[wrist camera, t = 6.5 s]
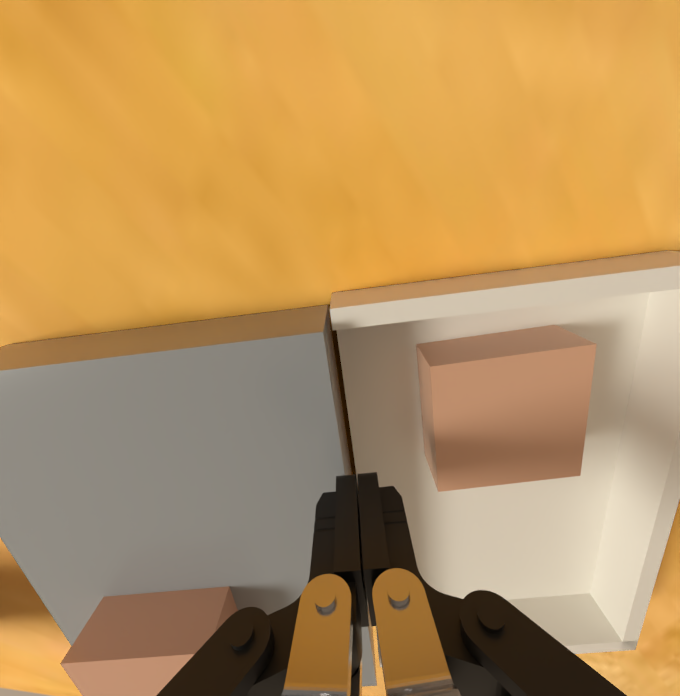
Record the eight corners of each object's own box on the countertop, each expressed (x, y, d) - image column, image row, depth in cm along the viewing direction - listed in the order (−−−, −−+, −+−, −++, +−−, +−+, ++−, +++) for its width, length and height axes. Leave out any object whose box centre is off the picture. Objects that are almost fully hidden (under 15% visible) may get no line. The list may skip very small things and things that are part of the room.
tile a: (596, 344, 12) (554, 324, 14) (430, 366, 12) (415, 344, 15) (580, 475, 14) (546, 439, 16) (438, 492, 14) (424, 454, 17)
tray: (332, 292, 14) (329, 308, 11) (666, 250, 14) (751, 256, 11) (375, 609, 22) (380, 667, 19) (595, 592, 21) (635, 650, 18)
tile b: (103, 596, 15) (60, 663, 13) (229, 586, 15) (208, 652, 13) (146, 672, 17) (115, 742, 15) (257, 665, 17) (243, 735, 15)
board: (8, 344, 15) (-102, 382, 11) (327, 304, 14) (322, 331, 11) (148, 622, 22) (109, 703, 18) (370, 604, 21) (376, 685, 18)
